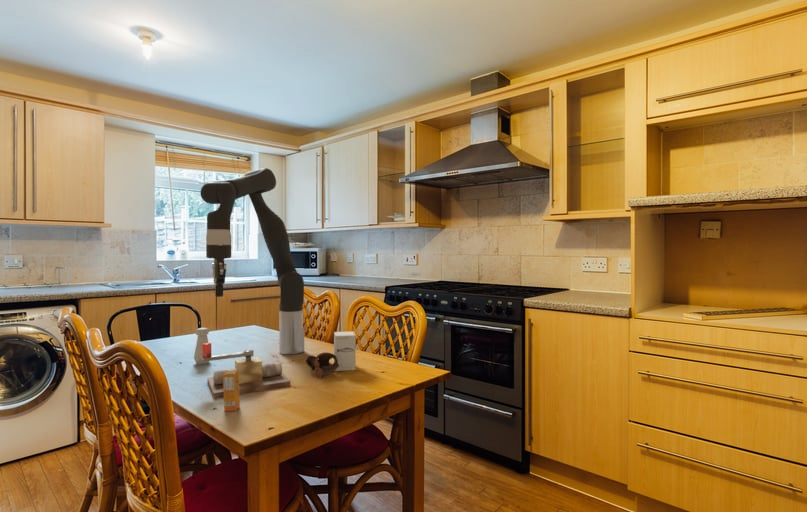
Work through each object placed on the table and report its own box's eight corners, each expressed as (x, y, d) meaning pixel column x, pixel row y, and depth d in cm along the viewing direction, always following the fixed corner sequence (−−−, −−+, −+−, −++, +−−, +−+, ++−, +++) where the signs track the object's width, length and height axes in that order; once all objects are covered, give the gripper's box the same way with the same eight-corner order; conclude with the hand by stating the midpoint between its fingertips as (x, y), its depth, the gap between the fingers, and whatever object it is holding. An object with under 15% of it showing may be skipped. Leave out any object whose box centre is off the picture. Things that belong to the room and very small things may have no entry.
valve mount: (277, 372, 147) (277, 347, 146) (290, 385, 133) (290, 358, 133) (207, 382, 135) (207, 355, 135) (214, 398, 122) (213, 368, 121)
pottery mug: (341, 371, 150) (343, 354, 146) (331, 390, 142) (333, 373, 138) (309, 361, 152) (311, 343, 148) (297, 379, 144) (299, 362, 140)
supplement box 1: (226, 407, 115) (226, 370, 115) (239, 406, 115) (239, 370, 115) (222, 411, 112) (222, 374, 112) (236, 411, 112) (236, 373, 112)
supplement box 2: (334, 371, 147) (334, 335, 147) (333, 365, 155) (333, 331, 154) (355, 370, 149) (356, 334, 149) (353, 364, 156) (354, 330, 156)
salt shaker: (214, 361, 160) (214, 326, 159) (205, 365, 154) (205, 330, 154) (199, 360, 160) (199, 326, 160) (190, 365, 155) (190, 329, 154)
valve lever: (252, 354, 136) (252, 337, 136) (254, 356, 133) (254, 339, 133) (201, 360, 128) (201, 343, 128) (202, 362, 126) (202, 345, 125)
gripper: (204, 243, 142) (204, 295, 143) (208, 243, 131) (209, 299, 132) (228, 243, 146) (228, 293, 147) (234, 243, 135) (234, 298, 135)
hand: (219, 296), depth 139 cm, fingers closed
